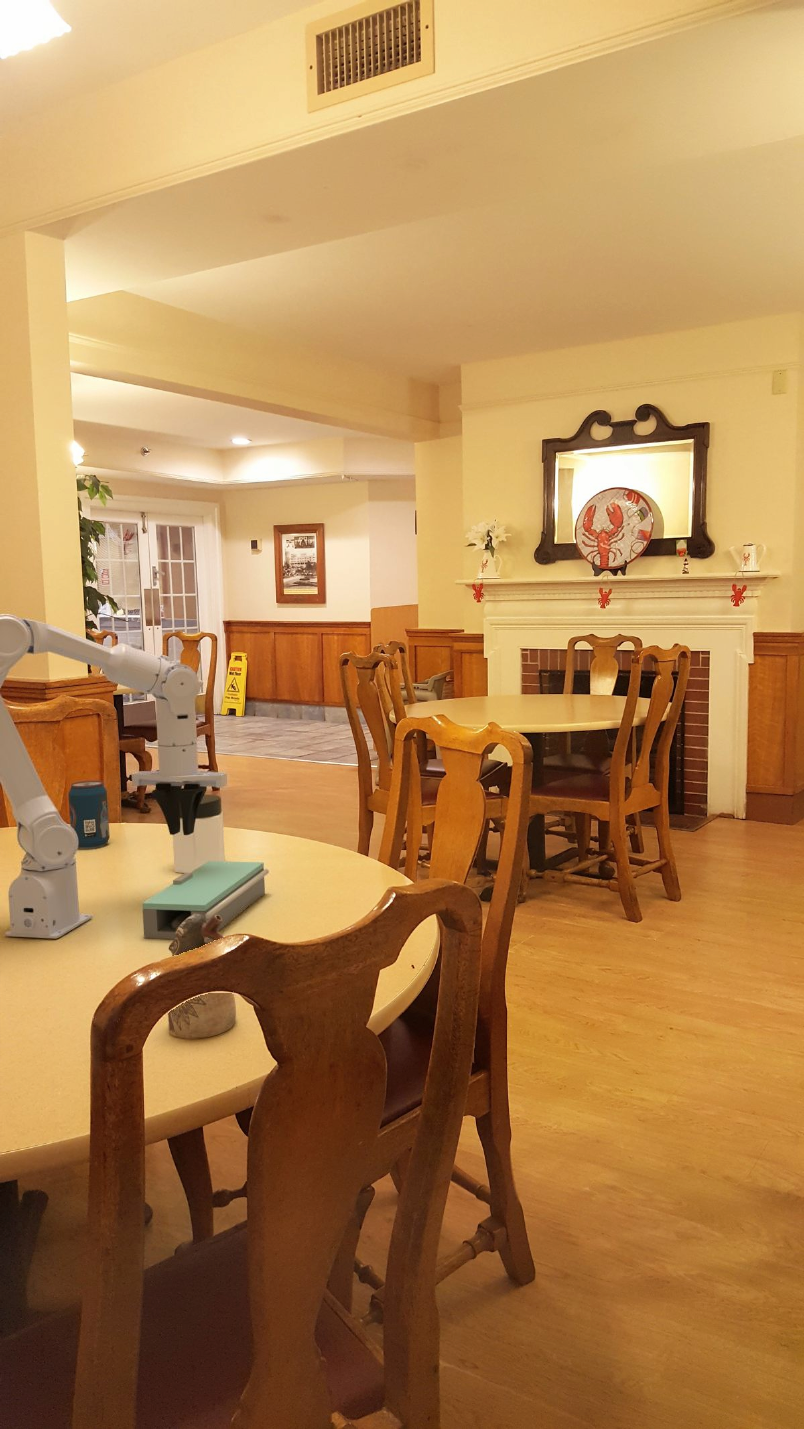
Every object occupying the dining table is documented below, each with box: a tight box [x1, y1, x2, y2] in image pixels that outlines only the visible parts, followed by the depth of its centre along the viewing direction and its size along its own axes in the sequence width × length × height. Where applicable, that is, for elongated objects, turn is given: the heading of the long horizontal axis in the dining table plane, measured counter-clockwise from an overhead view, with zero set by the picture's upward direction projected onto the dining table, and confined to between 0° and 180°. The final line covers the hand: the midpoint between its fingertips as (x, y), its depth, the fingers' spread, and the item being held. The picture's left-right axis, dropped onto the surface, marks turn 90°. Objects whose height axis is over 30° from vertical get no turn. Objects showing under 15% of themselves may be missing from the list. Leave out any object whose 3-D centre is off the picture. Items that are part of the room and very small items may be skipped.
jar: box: [172, 794, 226, 874], centre depth 169 cm, size 9×8×12 cm
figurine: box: [167, 914, 237, 1040], centre depth 105 cm, size 7×7×12 cm
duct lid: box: [141, 861, 265, 911], centre depth 143 cm, size 22×9×1 cm, turn 167°
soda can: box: [68, 780, 111, 850], centre depth 187 cm, size 7×7×12 cm
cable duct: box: [142, 867, 270, 941], centre depth 143 cm, size 22×10×4 cm, turn 167°
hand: (181, 833), depth 149 cm, fingers closed
